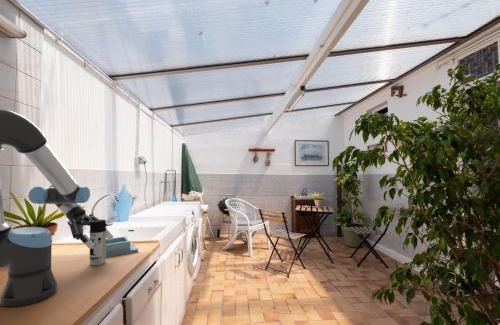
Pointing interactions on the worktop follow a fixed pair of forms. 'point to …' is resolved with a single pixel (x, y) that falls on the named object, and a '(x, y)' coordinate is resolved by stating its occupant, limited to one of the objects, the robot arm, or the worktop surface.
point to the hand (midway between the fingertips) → (102, 242)
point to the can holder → (119, 246)
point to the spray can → (98, 242)
